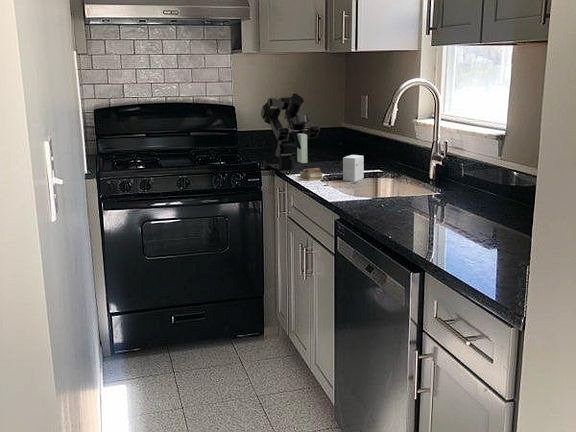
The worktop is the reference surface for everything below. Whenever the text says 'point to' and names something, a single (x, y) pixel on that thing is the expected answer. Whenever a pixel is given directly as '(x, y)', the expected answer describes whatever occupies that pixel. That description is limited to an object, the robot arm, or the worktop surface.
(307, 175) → the pine rack
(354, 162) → the small box
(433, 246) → the worktop surface
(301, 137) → the sage panel
